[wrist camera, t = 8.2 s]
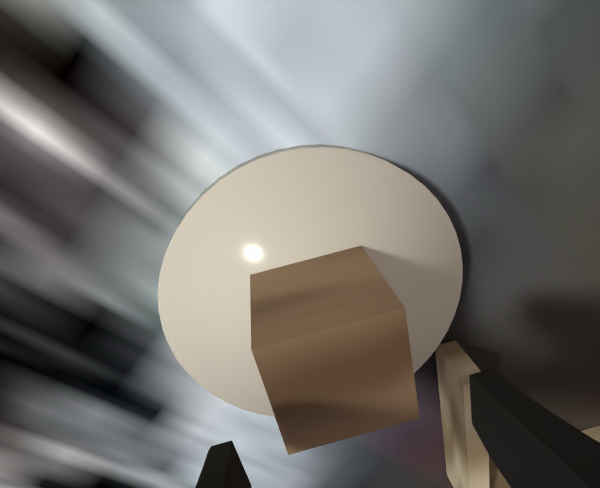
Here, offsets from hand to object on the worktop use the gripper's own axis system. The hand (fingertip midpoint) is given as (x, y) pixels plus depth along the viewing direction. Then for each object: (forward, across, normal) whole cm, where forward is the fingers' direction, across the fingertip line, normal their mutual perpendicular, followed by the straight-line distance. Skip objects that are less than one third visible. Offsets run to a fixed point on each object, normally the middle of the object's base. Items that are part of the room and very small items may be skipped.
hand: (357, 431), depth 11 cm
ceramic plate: (+8, 0, 0) cm, 8 cm away
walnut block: (+7, 0, 0) cm, 7 cm away
